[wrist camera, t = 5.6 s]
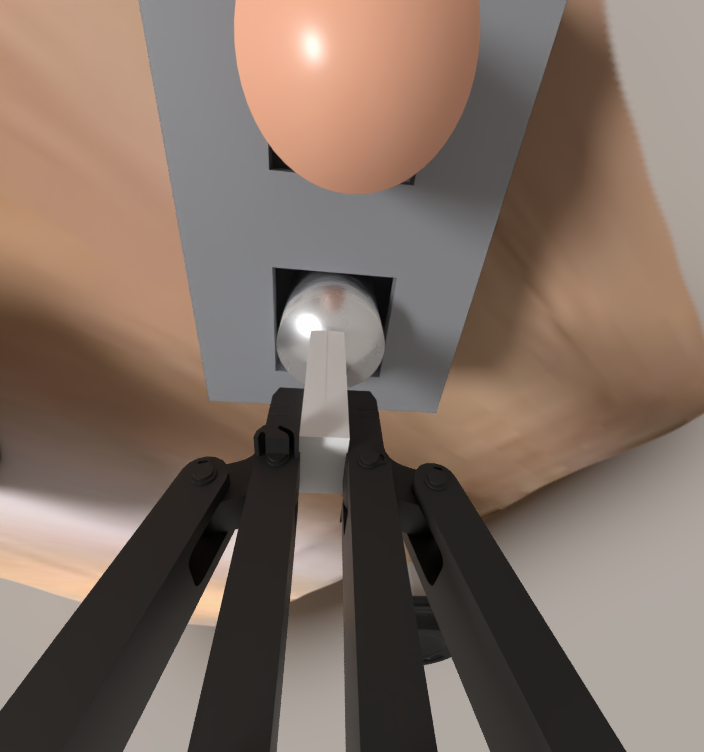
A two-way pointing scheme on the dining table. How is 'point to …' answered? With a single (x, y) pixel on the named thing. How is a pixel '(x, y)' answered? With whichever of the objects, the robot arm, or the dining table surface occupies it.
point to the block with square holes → (333, 205)
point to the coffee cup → (426, 620)
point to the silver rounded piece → (331, 321)
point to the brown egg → (356, 83)
